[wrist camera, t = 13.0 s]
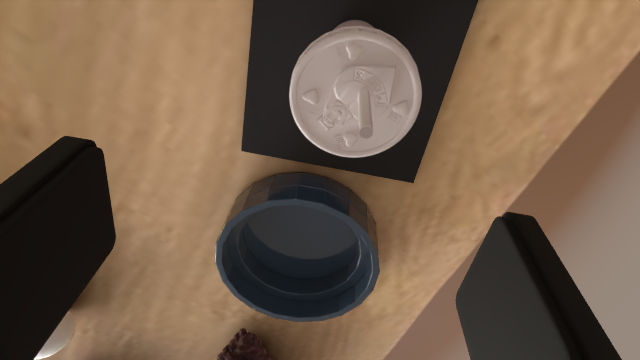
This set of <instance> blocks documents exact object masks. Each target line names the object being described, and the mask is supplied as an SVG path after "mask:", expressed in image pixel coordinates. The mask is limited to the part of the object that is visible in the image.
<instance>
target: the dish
mask: <svg viewBox="0 0 640 360" xmlns="http://www.w3.org/2000/svg"><path fill="white" fill-rule="evenodd" d="M215 263H216V266H217V269H218V272H219V274H220V277H221V280H222V281H223V283H224V284H225V285H226V286H227V288H228V289H229V290H230V291H231V292H232V294H233V295H234V296H235V297H236V298H238V299H239V300H240V301H242V302H243V303H245V304H246V305H247V306H249V307H250V308H252V309H254V310H256V311H258V312H261V313H263V314H266V315H268V316H271V317H273V318H276V319H282V320H288V321H294V322H312V321H323V320H327V319H331V318H334V317H338V316H342V315H343V314H345V313H347V312H349V311H350V310H352V309H354V308H355V307H357V306H359V305H360V304H361V303H362V302H363V301H364V300H365V299H366V298H367V297H368V295H369V294H370V293H371V292H372V291H373V289H374V287H375V284H376V281H377V278H378V275H379V272H380V269H379V256H378V244H377V232H376V223H375V221H374V219H373V217H372V215H371V213H370V211H369V209H368V207H367V205H366V204H365V203H364V202H363V201H362V200H361V199H360V198H359V197H358V196H357V195H356V194H354V193H353V192H352V191H351V190H350V189H349V188H348V187H346V186H344V185H342V184H340V183H338V182H335V181H333V180H331V179H329V178H327V177H323V176H317V175H312V174H306V173H289V174H277V175H273V176H270V177H268V178H265V179H263V180H260V181H258V182H255V183H253V184H252V185H251V186H250V187H248V188H247V189H246V190H245V191H244V192H243V193H242V194H240V195H239V196H238V197H237V198H236V200H235V202H234V204H233V206H232V208H231V210H230V212H229V214H228V216H227V218H226V221H225V223H224V225H223V227H222V230H221V232H220V234H219V237H218V239H217V241H216V251H215Z"/></svg>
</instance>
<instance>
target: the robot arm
mask: <svg viewBox="0 0 640 360" xmlns="http://www.w3.org/2000/svg"><path fill="white" fill-rule="evenodd" d="M115 239H116V234H115V227H114V221H113V214H112V207H111V200H110V193H109V187H108V180H107V173H106V166H105V160H104V154H103V151H102V149H100V148H97V146H96V144H95V142H94V141H92V140H88V139H82V138H76V137H70V136H64V137H62V138H60V139H59V140H58V141H56V142H55V143H54V144H52V145H51V146H50V147H49V148H47V149H46V150H45V151H43V152H42V153H41V154H39V155H38V156H37V157H35V158H34V159H33V160H32V161H30V162H29V163H28V164H26V165H25V166H24V167H22V168H21V169H20V170H18V171H17V172H16V173H15V174H13V175H12V176H11V177H9V178H8V179H7V180H5V181H4V182H3V183H1V184H0V360H34V358H35V357H36V356H37V354H38V353H39V351H40V350H41V349H42V347H43V346H44V344H45V343H46V342H47V340H48V339H49V337H50V336H51V335H52V333H53V332H54V330H55V329H56V328H57V326H58V325H59V323H60V322H61V321H62V319H63V318H64V316H65V315H66V314H67V312H68V311H69V309H70V308H71V307H72V305H73V304H74V303H75V301H76V300H77V298H78V297H79V296H80V294H81V293H82V291H83V290H84V289H85V287H86V286H87V284H88V283H89V282H90V280H91V279H92V277H93V276H94V275H95V273H96V272H97V270H98V269H99V268H100V266H101V265H102V263H103V262H104V261H105V259H106V258H107V256H108V255H109V254H110V252H111V251H112V249H113V247H114V244H115ZM456 307H457V311H458V314H459V319H460V322H461V326H462V329H463V333H464V336H465V341H466V344H467V347H468V352H469V355H470V359H471V360H622V359H621V358H620V356H619V354H618V353H617V351H616V350H615V348H614V346H613V345H612V343H611V342H610V340H609V338H608V337H607V335H606V333H605V332H604V330H603V329H602V327H601V325H600V324H599V322H598V320H597V319H596V317H595V315H594V314H593V312H592V310H591V309H590V307H589V306H588V304H587V302H586V301H585V299H584V298H583V296H582V294H581V293H580V291H579V290H578V288H577V286H576V285H575V283H574V281H573V280H572V278H571V276H570V275H569V273H568V271H567V270H566V268H565V267H564V265H563V263H562V262H561V260H560V258H559V257H558V255H557V253H556V252H555V250H554V248H553V247H552V245H551V244H550V242H549V240H548V239H547V237H546V236H545V234H544V232H543V231H542V229H541V227H540V226H539V224H538V222H537V221H536V219H535V218H534V217H532V216H529V215H523V214H517V213H511V212H506V213H505V214H504V215H503V216H502V217H500V216H499V217H496V218H495V220H494V221H493V223H492V225H491V227H490V229H489V231H488V233H487V235H486V237H485V239H484V241H483V243H482V245H481V246H480V249H479V251H478V252H477V254H476V256H475V258H474V260H473V262H472V264H471V266H470V268H469V270H468V272H467V274H466V276H465V278H464V280H463V282H462V284H461V286H460V288H459V290H458V292H457V295H456Z"/></svg>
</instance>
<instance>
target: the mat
mask: <svg viewBox="0 0 640 360" xmlns="http://www.w3.org/2000/svg"><path fill="white" fill-rule="evenodd" d="M477 3H478V0H254V2H253V14H252V27H251V39H250V51H249V63H248V76H247V88H246V100H245V112H244V125H243V137H242V149H241V150H242V151H245V152H250V153H256V154H261V155H266V156H272V157H277V158H282V159H288V160H293V161H298V162H304V163H309V164H314V165H320V166H325V167H330V168H336V169H341V170H347V171H352V172H357V173H363V174H368V175H373V176H379V177H384V178H389V179H395V180H400V181H405V182H411V183H414V180H415V177H416V174H417V171H418V169H419V166H420V163H421V160H422V157H423V155H424V152H425V149H426V146H427V143H428V140H429V138H430V135H431V132H432V129H433V126H434V124H435V121H436V118H437V115H438V112H439V110H440V107H441V104H442V101H443V98H444V95H445V93H446V90H447V87H448V84H449V81H450V79H451V76H452V73H453V70H454V67H455V64H456V62H457V59H458V56H459V53H460V50H461V48H462V45H463V42H464V39H465V36H466V34H467V31H468V28H469V25H470V22H471V19H472V17H473V14H474V11H475V8H476V5H477ZM349 20H361V21H364V22H367V23H368V24H370V25H371V26H373V27H374V28H375V29H379V30H381V31H383V32H385V33H387V34H389V35H391V36H392V37H394V38H396V39H397V40H398V41H399V42H400V43H401V44H402V45H403V46H404V47H405V48H406V49H407V50H408V51H409V53H410V55H411V56H412V58H413V60H414V62H415V63H416V65H417V69H418V73H419V77H420V81H421V88H422V99H421V105H420V110H419V113H418V115H417V118H416V120H415V122H414V124H413V125H412V127H411V129H410V130H409V131H408V133H407V134H406V135H405V136H404V137H403V138H402V139H401V140H400V141H399V142H397V143H396V144H395V145H393V146H392V147H390V148H389V149H387V150H385V151H383V152H380V153H378V154H374V155H371V156H366V157H356V158H353V157H342V156H338V155H334V154H331V153H329V152H326V151H324V150H322V149H320V148H319V147H317V146H316V145H314V144H313V143H312V142H310V141H309V140H308V139H307V138H306V137H305V136H304V134H303V133H302V132H301V130H300V129H299V128H298V126H297V124H296V122H295V120H294V118H293V115H292V112H291V108H290V101H289V91H290V84H291V78H292V72H293V70H294V68H295V66H296V63H297V61H298V59H299V57H300V56H301V54H302V53H303V52H304V51H305V50H306V48H307V47H308V46H309V45H310V44H311V43H312V42H313V41H315V40H316V39H318V38H319V37H321V36H322V35H324V34H325V33H327V32H330V31H333V30H334V29H335V28H336V27H337V26H338V25H340V24H341V23H343V22H346V21H349Z"/></svg>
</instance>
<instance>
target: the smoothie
mask: <svg viewBox="0 0 640 360" xmlns="http://www.w3.org/2000/svg"><path fill="white" fill-rule="evenodd" d="M421 99H422V88H421V81H420V77H419V73H418V69H417V65H416V63H415V62H414V60H413V58H412V56H411V55H410V53H409V51H408V50H407V49H406V48H405V47H404V46H403V45H402V44H401V43H400V42H399V41H398V40H397V39H396V38H394V37H392V36H391V35H389V34H387V33H385V32H383V31H381V30H379V29H375V28H374V27H373V26H371V25H370V24H368V23H367V22H364V21H361V20H349V21H346V22H343V23H341V24H340V25H338V26H337V27H336V28H335V29H334V30H333V31H330V32H327V33H325V34H324V35H322V36H321V37H319V38H318V39H316V40H315V41H313V42H312V43H311V44H310V45H309V46H308V47H307V48H306V50H305V51H304V52H303V53H302V54H301V56H300V57H299V59H298V61H297V63H296V66H295V68H294V70H293V72H292V78H291V84H290V91H289V101H290V108H291V112H292V115H293V118H294V120H295V122H296V124H297V126H298V128H299V129H300V130H301V132H302V133H303V134H304V136H305V137H306V138H307V139H308V140H309V141H310V142H312V143H313V144H314V145H316V146H317V147H319V148H320V149H322V150H324V151H326V152H329V153H331V154H334V155H338V156H342V157H353V158H356V157H366V156H371V155H374V154H378V153H380V152H383V151H385V150H387V149H389V148H390V147H392V146H393V145H395V144H396V143H397V142H399V141H400V140H401V139H402V138H403V137H404V136H405V135H406V134H407V133H408V131H409V130H410V129H411V127H412V125H413V124H414V122H415V120H416V118H417V115H418V113H419V110H420V105H421Z"/></svg>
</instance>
